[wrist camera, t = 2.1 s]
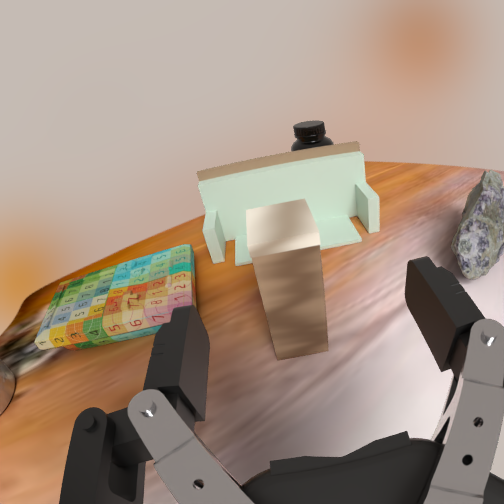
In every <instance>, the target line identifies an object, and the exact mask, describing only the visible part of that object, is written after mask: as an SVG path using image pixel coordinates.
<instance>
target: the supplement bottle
mask: <svg viewBox="0 0 504 504" xmlns="http://www.w3.org/2000/svg"><path fill="white" fill-rule="evenodd" d="M293 128H294V133H295V134H294V135H295V138H297V140H296V141H295V142H294V143H293V145H292V147H291V151H298V150H303V149H309V148H315V147H322V146H328V145H334V144H333V142H332V141H331V139H330V138H328V137H326V136H325V134H326V131H325V127H324V122H323V121H306V122H301V123H298V124H296V125H294V126H293Z"/></svg>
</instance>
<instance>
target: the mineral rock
mask: <svg viewBox="0 0 504 504" xmlns="http://www.w3.org/2000/svg"><path fill="white" fill-rule="evenodd" d="M462 214H463V218H462V221H461V223H460V224H459V227H458V230H457V232H456V234H455V235H454V237H453V241H452V244H451V248H452V251H453V252H454V254H455V255H456V257H457V259H458V265H459V266H460V269H461V271H462V274H463V275H464V276H465V277H466V278H467V279H470V280H473V279H477V278H479V277H480V275H486V274H487V273H488V271H489V269H490V268H491V267H492V266H493V265H494V264H495V263H497V262H498V261H499V256H501V255H503V253H504V187H503V183H502V179H501V176H500V174H499V173H497V172H494V171H492V170H490V171H489V173H488V172H486V171H484V173H483V175H482V177H481V181H480V183H478V184H477V185H476V186H475V187H474V188H473V189H472V191H471V192H470V194H469V195H468V198H467V201H466V205H465V208H464V210H463V213H462Z"/></svg>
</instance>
